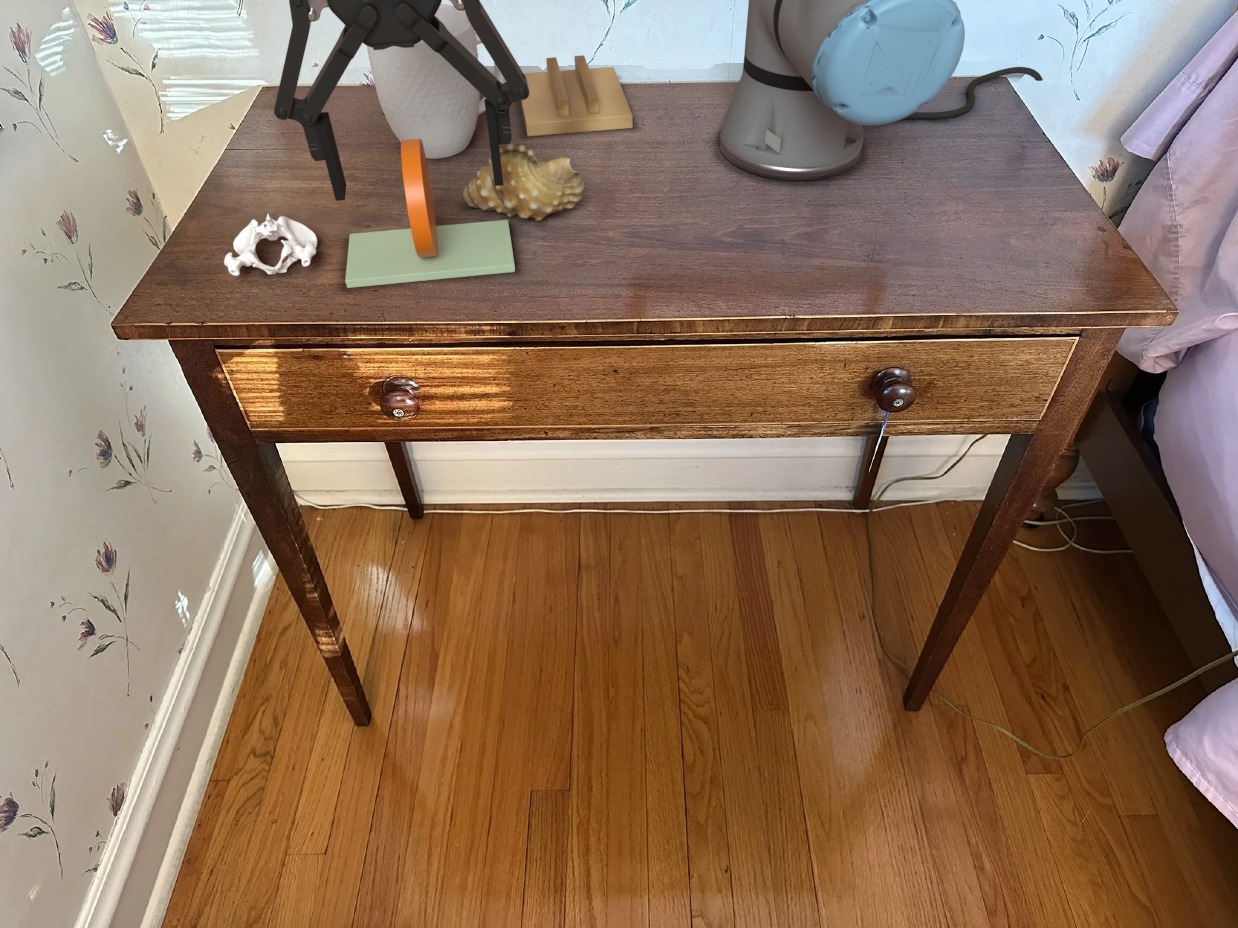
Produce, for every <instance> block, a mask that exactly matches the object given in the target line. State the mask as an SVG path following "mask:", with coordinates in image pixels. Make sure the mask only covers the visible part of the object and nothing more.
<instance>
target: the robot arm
mask: <svg viewBox="0 0 1238 928" xmlns="http://www.w3.org/2000/svg"><path fill="white" fill-rule="evenodd" d="M449 1H450V3H451V4H452V6H454V7H455V8H456V9H457V10H459V11H464V10H465V12H466V15H467V18H468V20H469V22H470V24H471V26H472V27H473V29H474V30H475V32H476V34H477V35H478V37H479V38H480V40H481V42H482V43H481V44H482V45H483V46H484V48H485V50H486V51H487V53H488V54H489V56H490V58H491V59H492V61H493V63H494V62H495V64H496V66H497V67H498V69H499V70H500V72H501V74H502V75H503V77H504V78H505V82H504V83H501V82H500V81H499V80H498V79H497V78H496V77H495V76H494V73H493V72H491V71H490V70H489V69H488V68H487V67H485V65H484V64H483V63H482V62H481V61H480V60H479V59H478V60H477V59H476V58H475V57H474V56H473V55H472V54H471V53H470V52H469V51H468V50H467V49H466V48H465V47H464V46H463V45H462V44H461V43H460V42H459V41H458V40H457V39H456V38H455V37H454V36H453V35H452V34H451V33H450V32H449V31H448V30H447V28H446V27H445V25H444V24H443V23H442V22H441V21H440V20H439V19H438V18H437V17H436V16H435V14H436V12H437V10H438V8H439V6H440V4H442V2H443V0H288V3H289V10H290V17H291V24H292V27H291V31H290V35H289V40H288V45H287V50H286V55H285V58H284V63H283V68H282V71H281V77H280V82H279V86H278V91H277V96H276V100H275V104H274V107H273V108H274V109H273V113H274V116H275V117H276V118H277V119H279V120H281V121H286V120H293V121H296V122H298V123H299V124H300V125H301V126H302V129H303V132H304V136H305V140H306V143H307V147H308V151H309V154H310V156H311V158H312V159H313V161H314V162H322V161H324V162H325V165H326V169H327V172H328V178H329V181H330V184H331V188H332V191H333V195H334V199H335V201H336V202H338V201H345V200H346V192H347V181H346V178H345V174H344V169H343V165H342V161H341V158H340V153H339V150H338V146H337V142H336V141H337V140H336V138H335V134H334V129H333V125H332V122H331V118H330V113H329V111H323V109H324V107H325V106H326V104H327V102H328V101H329V99H330V97H331V96H332V94H333V92H334V90H335V89H336V87H337V85H338V84H339V82H340V80H341V79H342V77H343V75H344V73H345V71H346V70H347V68H348V66H349V64H350V63H351V61H352V60H353V59H354V58H355V56H356V54H357V53H358V52H359V49H361V46H362V44H364V45H365V46H366V47H367V46H369V47H373V50H383V49H386V48H389V47H392V46H397V47H402V48H409V47H414V44H417V43H418V42H420V41H421V40H423V41H424V42H425V43H426V44H427V45H428V46H429V47H430V48H431V49H432V50H433V51H435V52H437V53H439V54H440V55H441V56H442V57H443V58H444V59H445V60H446V61H447V62H448V63H449V64H450V65H452V66H453V67H454V68H455V69H456V70H457V71H458V72H459V73H460V74H461V75H462V76H463V77H464V78H465V79H466V80H467V81H468V82H469V83H470V84H471V85H473V86H474V87H475V88H476V89H477V90H478V91H479V92H480V95H482V97H483V98H484V97H485V98H486V99H484V102H485V110H486V111H485V116H486V117H485V118H486V125H487V133H488V143H489V150H490V157H491V159H492V167H493V175H494V183H495V186H502V185H503V176H502V167H501V158H500V150H499V148H500V146H501V145H502V146H504V145H509V144H511V142H512V140H513V135H512V126H511V115H510V107H511V105H512V104H514V103H515V102H517V101H520V100H525V99H527V98H528V96H529V88H528V83H527V79H526V77H525V75H524V73H525V72H523V70H522V68H521V67H520V66H519V64H518V61H517V60H516V58H515V57H514V55H513V53H512V52H511V49H510V48H509V47H508V46H507V44H506V42H505V40H504V39H503V37H502V36H501V34H500V31H499V30H498V29H497V27H496V26H495V24H494V22H493V20H492V19H491V17H490V15H489V14H488V12H487V10H486V9H485V8H484V7H485V6H484V5H483V4H482V2H481V0H449ZM326 8H329V10H330V11H331V12H332V13H333V14H334V15H335V17H336V18H338V20H339V21H340V22H342V24H343V25H344V27H343V28H342V30H341V32H340V35H339V37H338V39H337V40H336V42H335V44H334V46H333V48H332V50H331V51H330V53H329V55H328V56H327V58H326V60H325V62H324V63H323V65H322V67H321V69H320V71H319V72H318V74H317V76H316V77H315V80H313V83H312V85H311V86H310V87H309V90H308V92H307V94H306V96H305V97H303V99H301V98H297V97H295V96H296V91H297V86H298V83H299V79H300V74H301V69H302V66H303V62H304V56H305V52H306V48H307V43H308V39H309V34H310V31H311V26H312V22H317V21H319V19H320V18H321V14H322V11H323V10H324V9H326ZM965 31H966V30H965V23H964V20H963V18H962V15H961V10H960V9H959V7H958V4H957V2H956V1H954V0H748V6H747V18H746V30H745V43H744V53H743V56H744V57H743V64H742V65H743V66H742V74H741V76H740V79H739V81H738V83H737V86H736V88H735V91H734V93H733V95H732V99H731V101H730V103H729V105H728V108H727V111H726V113H725V115H724V118H723V119H722V123H721V127H720V134H719V135H720V136H719V149H720V152H721V154H722V155H723V156H724V158H725V159H726V160H727V161H729V162H730V163H731V164H732V165H734V166H735V167H738V168H739V169H740V170H743V171H745V172H748V173H751V174H754V175H756V176H760V177H765V178H769V179H773V180H783V181H814V180H822V179H827V178H830V177H834V176H838V175H840V174H842V173H845V172H846V171H848V170H850V169H852V168H853V167H854V166H856V164H857V163H858V162H859V160H860V158H861V155H862V149H863V144H864V128H863V126H867V127H869V126H873V127H875V126H882V125H889V124H892V123H895V122H898V121H900V120H940V119H949V118H954V117H959V116H962V115H964V114H966V113H969V112H970V111H971V110H972V109H973V108H974V106H975V104H976V103H975V102H976V94H975V88H976V87H977V86H978V85H981V84H982V83H984V82H987V81H990V80H993V79H997V78H999V77H1003V76H1008V75H1012V74H1013V75H1015V74H1021V75H1027V76H1029V77H1031V78H1033V79H1034V80H1035V81H1036V82H1042V81H1044V79H1043V76H1042V75H1041V74H1040V73H1039V72H1038V71H1037V70H1036V69H1034V68H1031V67H1026V66H1013V67H1007V68H1006V67H1005V68H1002V69H999V70H995V71H992V72H989V73H986V74H983V75H981V76H979V77H976V78H974V79H973V80H972V81H970V83H969V84H968V86H967V103H966V104H965V105H964V106H962V107H959V108H957V109H951V110H945V111H927V112H926V111H924V112H922V111H921V112H919V111H916V110H918V109H919V108H920V107H922V106H923V105H924V104H925V105H926V104H928V103H930V102H931V101H932V100H933V99H934V98H935V97H936V96H937V95H938V94H939V93H940V92H941V91H942V90H943V89H944V87H946V85H947V84H948V82H949V81H950V79H951V77H953V74H954V73H955V71H956V69H957V67H958V65H959V63H960V60H961V58H962V54H963V50H964V45H965V40H966V39H965V38H966V37H965V36H966V32H965Z"/></svg>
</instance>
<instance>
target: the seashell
mask: <svg viewBox="0 0 1238 928" xmlns="http://www.w3.org/2000/svg"><path fill="white" fill-rule="evenodd" d="M499 150H500V158H501V167H502V176H503V185H502V186H495V183H494V175H493V167H492V159H491V156H490V157H489V159H488V163H487V166H482V167H481V168H480V169H479V170H478V171H477V172H476V175H477V176H476V177H475V178H472V179H471V180H470V181H469V183H468V186H465V188H464V189H463V192H462V198H463V201H464V202H465V203H466V205H467V206H468V207H469V208H473V209H474V208H475V209H481V211H485V212H486V211H487V212H492V211H496V212H497V213H499V214H501V213H503V214H504V215H506V216H507V217H510V218H512V217H515V216H517V215H518V217H519V218H521V219H526V220H528V219H529V218H533V219H534V220H535V221H542V220H544V219H545V217H547V216H549V215H551V214H555V213H558V212H563V211H565V210H568V209H573V208H574V207H575V206H576V205H577V204H578V202H580V200H582V198H583V196H584V191H585V189H584V188H585V183H584V180H583V179H582V177H581V175H580V173H579V171H578V169H575V170H574V169H573V168H572V166H571V164H572V159H571V158H570V157H566V156H560V157H558V158H554V159H552V160H550V161H549V160H548V161H546V160H545V161H544V160H540V159H539V157H538V156H537V154H536V153H535V151H534V150H533V149H532V148H530V147H529V146H526V145H524V144H521V143H520V144H518V143H510V144H506V145H503V146H501V147H499Z"/></svg>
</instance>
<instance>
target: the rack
mask: <svg viewBox="0 0 1238 928" xmlns="http://www.w3.org/2000/svg"><path fill="white" fill-rule="evenodd" d="M545 59H546V60H545V62H546V71H538V72H537V71H536V72H523V73H524V75H525V77H526V79H527V83H528V88H529V96H528V98H527V99H525V100H519V101H520V107H521V111H522V116H523V122H524V126H525V132H526V136H527V137H537V136H538V137H539V136H548V135H551V136H552V135H562V134H563V135H564V134H574V133H575V134H577V133H586V132H587V133H589V132H600V131H611V130H612V131H614V130H625V129H633V128H634V121H633V119H634V115H633V112H632V110H631V108H630V105H629V102H628V100H627V97H626V95H625V93H624V90H623V87H622V85H621V82H620V79H619V78H618V74H617V72H616V70H615V67H614V66H605V67H591V68H589V65H588V62H587V60H586V56H585V55H574V57H573V59H574V69H564V70H561V69H560V66H559V63H558V59H557V57H555V56H554V57H546V58H545Z"/></svg>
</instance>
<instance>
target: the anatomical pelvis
mask: <svg viewBox="0 0 1238 928" xmlns="http://www.w3.org/2000/svg"><path fill="white" fill-rule="evenodd" d="M265 218H266V219H265V221H264V222H261V224H260V225H259V221H257V220H256V219H251V221H250V222H249V223H248V225H247V226H245V227H244V228H243V229H242V230H241V231H240V232H239V233H238V235H237V236H236V237H235V238H234V240H233V243H232V245H233V249H234V251H235V253H237V254H238V255H239V256H237V257H236V256H235V257H233V252H228V253H226V255H225V257H224V259H223V265H224V266H225V267H227V271H228V273H229V274H230V275H232V276H235V277H238V276H240V274H241V272H240V270H241V267H243V266H244V267H250V266H252V268H257V269H261V270H263V271H264V272H266V273H267V275H276V274H283V273H287V272H288V268H289V267H290V266H291V265H292V264H293V263H295V262H298V260H301V265H302V267H308V266H310V264H311V261H312V258H313V257H314V256H315V255H316V254H317V246H318V237H317V235H316V233H315V232H314V231H313V230H311V229H310V228H309V227H308V226H306V225H304V224H303V223H301V222H299V221H296V220H294V219H292V218H289V217H287V216H285V215H280V216H279V217H278V219H277V220H275V219H273V218H272V217H271V216H270V213H267V215H266V217H265ZM280 237H283V238H285V239H287V240H283V239H281V240H280V243H282V245H283V247H282V250H281V253H280V258H279V261H278V263H277V264H276V265H275V266H271V265H268V264H264V263H263V262H262V261H261V260H260V258H259V256H258V254H257V251H256V247H257V244H258V243H259V242H260V241H262V240H263V239H267V240H268V241H277V240H278V239H279V238H280ZM287 256H288V258H287V259H286V261H284V259H285V258H286V257H287ZM283 261H284V262H283Z"/></svg>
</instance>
